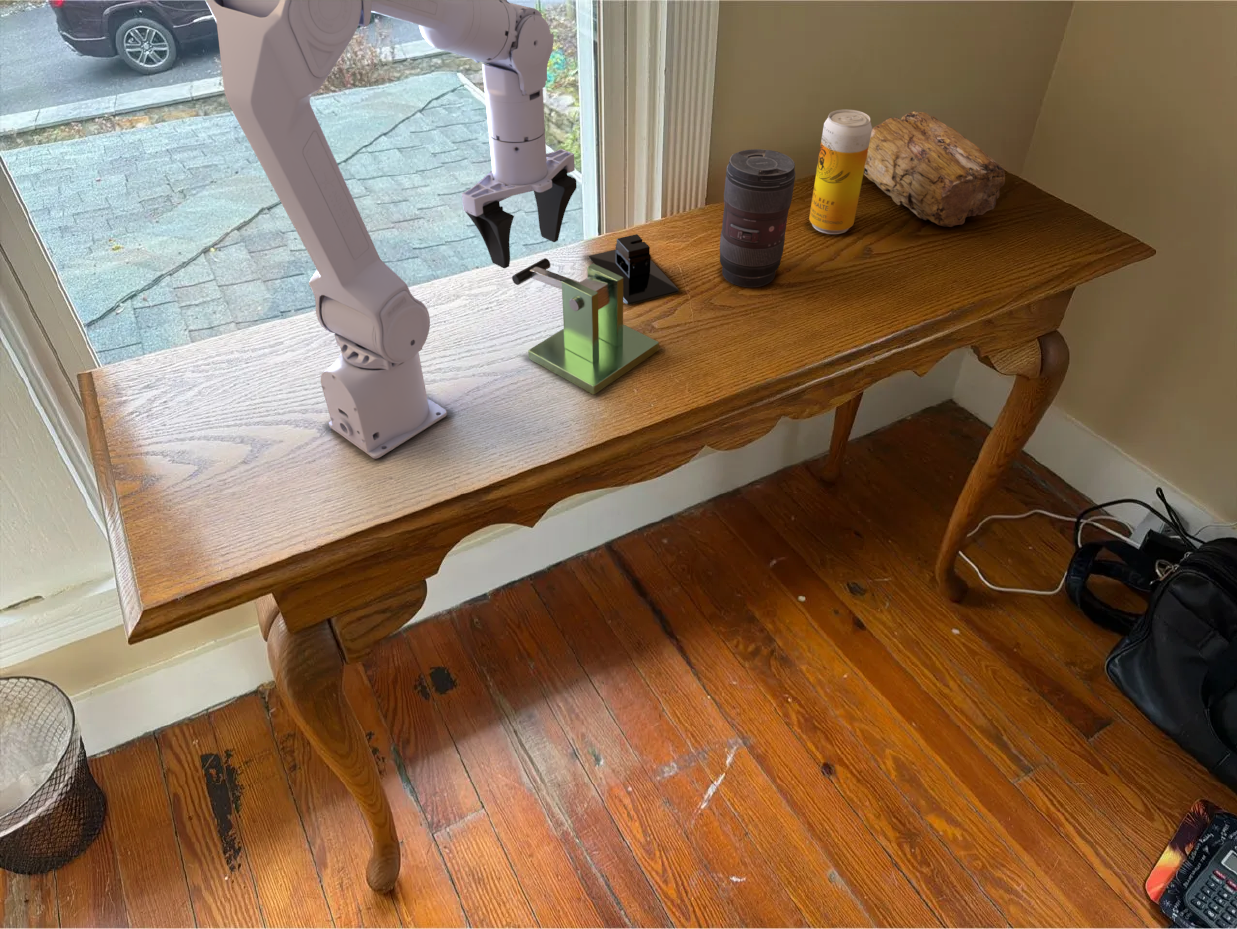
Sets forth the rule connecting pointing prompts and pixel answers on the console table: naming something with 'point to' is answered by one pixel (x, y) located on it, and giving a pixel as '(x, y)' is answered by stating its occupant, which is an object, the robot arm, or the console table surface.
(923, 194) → the petrified wood
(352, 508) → the console table surface
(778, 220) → the camera lens
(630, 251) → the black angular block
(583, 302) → the bracket
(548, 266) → the lever
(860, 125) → the beer can
